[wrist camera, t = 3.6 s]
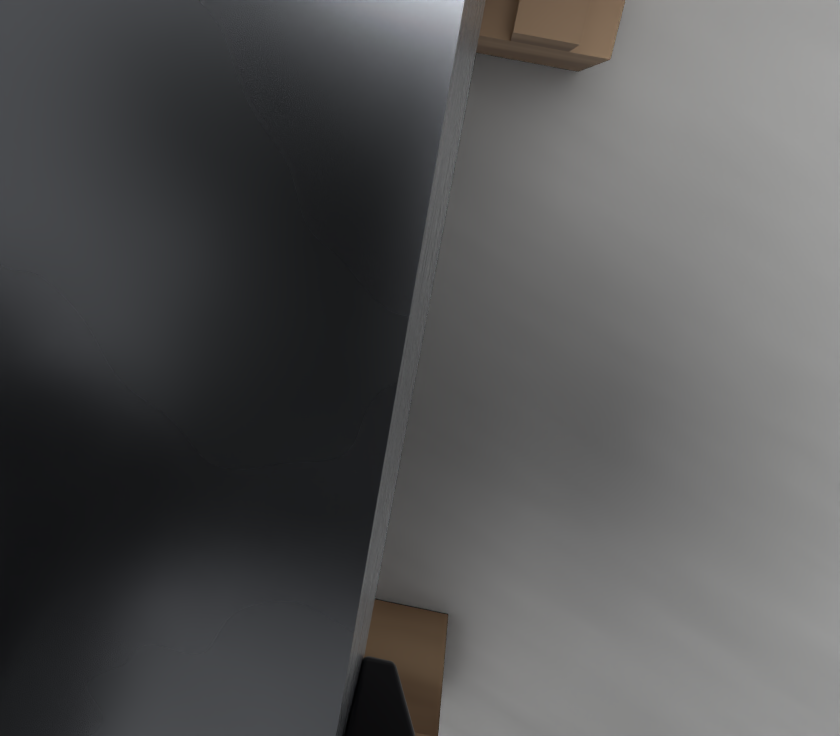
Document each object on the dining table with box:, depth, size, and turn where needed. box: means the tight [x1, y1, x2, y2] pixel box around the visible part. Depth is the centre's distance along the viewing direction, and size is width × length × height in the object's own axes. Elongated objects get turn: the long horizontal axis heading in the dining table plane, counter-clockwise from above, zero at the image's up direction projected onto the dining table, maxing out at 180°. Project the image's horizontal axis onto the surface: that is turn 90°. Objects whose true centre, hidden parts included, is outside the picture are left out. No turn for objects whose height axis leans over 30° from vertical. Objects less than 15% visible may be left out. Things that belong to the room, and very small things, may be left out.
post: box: [364, 599, 448, 736], centre depth 19 cm, size 3×7×6 cm, turn 80°
